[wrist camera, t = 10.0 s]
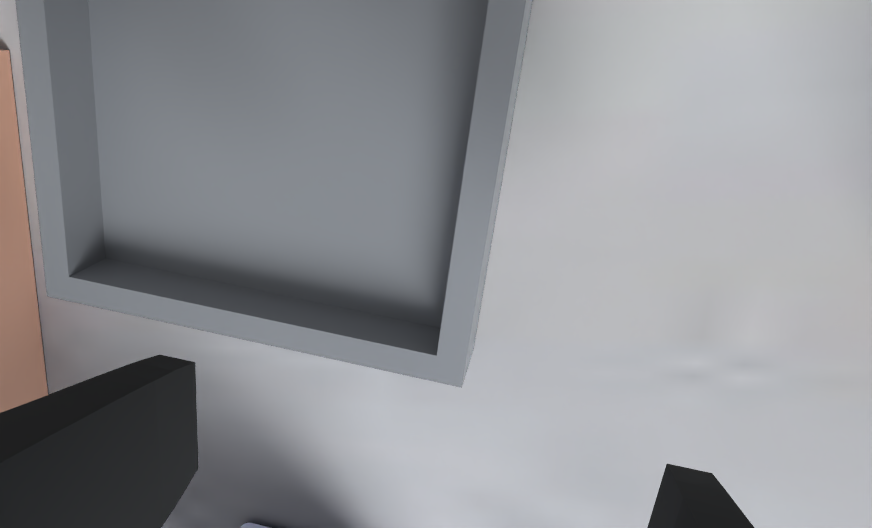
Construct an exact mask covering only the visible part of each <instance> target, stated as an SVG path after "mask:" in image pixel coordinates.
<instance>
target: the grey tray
mask: <svg viewBox="0 0 872 528" xmlns="http://www.w3.org/2000/svg"><path fill="white" fill-rule="evenodd" d="M532 2H533V0H16V9H17V18H18V28H19V37H20V47H21V56H22V65H23V75H24V84H25V94H26V103H27V112H28V122H29V131H30V140H31V150H32V159H33V169H34V178H35V187H36V197H37V206H38V216H39V225H40V234H41V244H42V253H43V263H44V272H45V281H46V291H47V296H48V297H53V298H57V299H62V300H66V301H71V302H75V303H80V304H84V305H89V306H93V307H98V308H102V309H107V310H112V311H116V312H121V313H125V314H130V315H134V316H139V317H143V318H148V319H152V320H157V321H162V322H166V323H171V324H175V325H180V326H184V327H189V328H193V329H198V330H202V331H207V332H212V333H216V334H221V335H225V336H230V337H234V338H239V339H243V340H248V341H252V342H257V343H262V344H266V345H271V346H275V347H280V348H284V349H289V350H293V351H298V352H302V353H307V354H312V355H316V356H321V357H325V358H330V359H334V360H339V361H343V362H348V363H352V364H357V365H362V366H366V367H371V368H375V369H380V370H384V371H389V372H393V373H398V374H402V375H407V376H411V377H416V378H421V379H425V380H430V381H434V382H439V383H443V384H448V385H452V386H457V387H461V388H462V385H463V382H464V378H465V375H466V372H467V369H468V365H469V362H470V359H471V356H472V352H473V349H474V343H475V337H476V331H477V325H478V319H479V313H480V307H481V301H482V296H483V290H484V284H485V278H486V272H487V266H488V260H489V254H490V249H491V243H492V237H493V231H494V225H495V219H496V213H497V207H498V201H499V196H500V190H501V184H502V178H503V172H504V166H505V160H506V154H507V149H508V143H509V137H510V131H511V125H512V119H513V113H514V107H515V101H516V96H517V90H518V84H519V78H520V72H521V66H522V60H523V54H524V49H525V43H526V37H527V31H528V25H529V19H530V13H531V7H532Z"/></svg>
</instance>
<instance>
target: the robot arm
mask: <svg viewBox="0 0 872 528" xmlns="http://www.w3.org/2000/svg"><path fill="white" fill-rule="evenodd" d="M197 469H198V445H197V412H196V379H195V362H191V361H186V360H182V359H177V358H172V357H168V356H163V355H157V356H154V357H150V358H147V359H144V360H141V361H138V362H135V363H132V364H129V365H126V366H123V367H121V368H118V369H115V370H112V371H110V372H107V373H104V374H102V375H99V376H96V377H94V378H91V379H89V380H86V381H83V382H81V383H78V384H76V385H73V386H70V387H68V388H65V389H62V390H60V391H57V392H54V393H52V394H49V395H47V396H44V397H41V398H39V399H36V400H33V401H31V402H28V403H26V404H23V405H20V406H18V407H15V408H12V409H9V410H6V411H4V412H1V413H0V528H161V527H162V526H163V524H164V523H165V521H166V520H167V518H168V517H169V515H170V513H171V512H172V510H173V509H174V507H175V506H176V504H177V503H178V501H179V500H180V498H181V496H182V495H183V493H184V491H185V489H186V488H187V486H188V484H189V483H190V481H191V479H192V478H193V476H194V474H195V473H196V471H197ZM240 528H270V527H266V526H262V525H258V524H254V523H245V524H243V525H242V526H241V527H240ZM648 528H754V527H753V525H752V524H751V523H750V522H749V520H748V519H747V518H746V516H745V515H744V514H743V512H742V511H741V510H740V508H739V507H738V506H737V505H736V503H735V502H734V501H733V499H732V498H731V497H730V495H729V494H728V493H727V492H726V490H725V489H724V488H723V486H722V485H721V484H720V483H719V481H718V480H717V479H716V478H715V476H714V475H713V474H712V473H708V472H703V471H698V470H694V469H689V468H684V467H680V466H675V465H671V464H667V465H666V468H665V472H664V475H663V478H662V482H661V485H660V488H659V492H658V495H657V498H656V501H655V505H654V508H653V511H652V515H651V518H650V521H649V525H648Z"/></svg>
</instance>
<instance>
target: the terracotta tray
mask: <svg viewBox="0 0 872 528" xmlns="http://www.w3.org/2000/svg"><path fill="white" fill-rule="evenodd" d="M47 395H48V390H47V381H46V372H45V363H44V354H43V346H42V337H41V328H40V319H39V310H38V301H37V292H36V284H35V275H34V266H33V257H32V248H31V239H30V230H29V222H28V213H27V204H26V195H25V186H24V177H23V168H22V160H21V151H20V142H19V133H18V124H17V115H16V106H15V98H14V89H13V80H12V71H11V62H10V53H9V50H4V49H0V413H1V412H4V411H6V410H9V409H12V408H15V407H18V406H20V405H23V404H26V403H28V402H31V401H33V400H36V399H39V398H41V397H44V396H47Z"/></svg>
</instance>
